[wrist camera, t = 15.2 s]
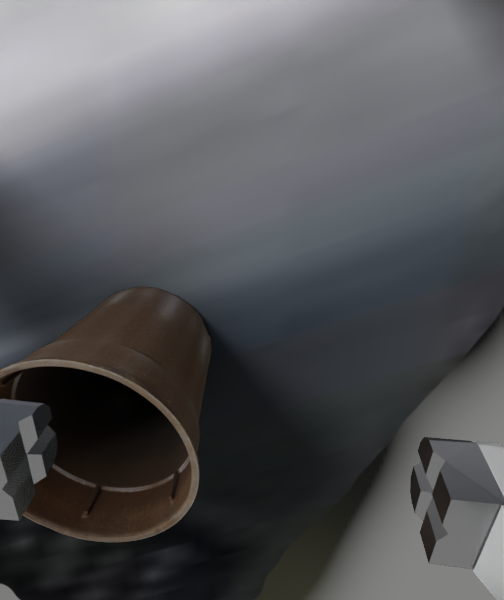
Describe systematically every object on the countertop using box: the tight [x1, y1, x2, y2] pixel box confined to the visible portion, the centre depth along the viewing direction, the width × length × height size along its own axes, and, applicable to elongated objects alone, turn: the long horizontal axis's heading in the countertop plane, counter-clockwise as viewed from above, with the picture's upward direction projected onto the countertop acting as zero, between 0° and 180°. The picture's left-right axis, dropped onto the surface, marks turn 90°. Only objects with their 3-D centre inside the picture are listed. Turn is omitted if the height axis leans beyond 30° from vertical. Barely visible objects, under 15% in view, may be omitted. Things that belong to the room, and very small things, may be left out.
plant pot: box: [0, 287, 212, 542], centre depth 37 cm, size 16×16×16 cm
